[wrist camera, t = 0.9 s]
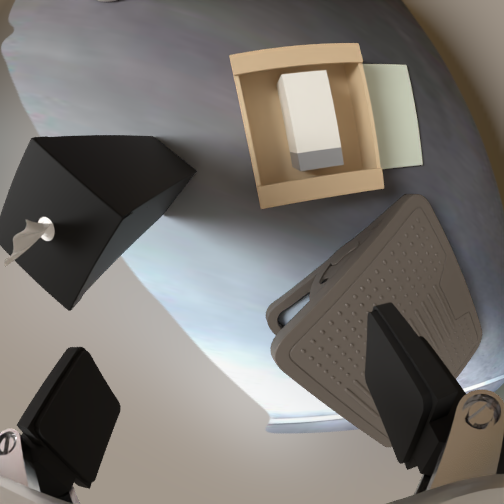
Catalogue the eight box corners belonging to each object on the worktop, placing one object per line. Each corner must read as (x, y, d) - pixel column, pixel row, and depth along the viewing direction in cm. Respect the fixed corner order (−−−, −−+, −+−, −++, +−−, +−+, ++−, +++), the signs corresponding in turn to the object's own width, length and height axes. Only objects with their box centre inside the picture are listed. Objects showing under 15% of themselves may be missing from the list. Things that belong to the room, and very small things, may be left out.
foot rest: (475, 328, 49) (506, 362, 37) (368, 411, 56) (384, 454, 44) (406, 180, 39) (458, 197, 27) (252, 307, 45) (254, 362, 33)
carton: (231, 67, 33) (229, 55, 27) (343, 55, 32) (358, 43, 26) (258, 199, 39) (260, 209, 33) (366, 181, 38) (384, 188, 33)
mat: (349, 65, 32) (350, 64, 32) (404, 65, 32) (406, 65, 31) (368, 170, 38) (369, 170, 37) (420, 164, 37) (422, 164, 37)
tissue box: (198, 171, 37) (95, 238, 11) (162, 216, 39) (45, 341, 13) (153, 135, 35) (-6, 140, 9) (120, 181, 37) (-38, 255, 11)
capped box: (276, 84, 33) (281, 74, 27) (314, 80, 33) (326, 70, 27) (292, 167, 37) (300, 171, 31) (329, 161, 37) (343, 164, 31)
